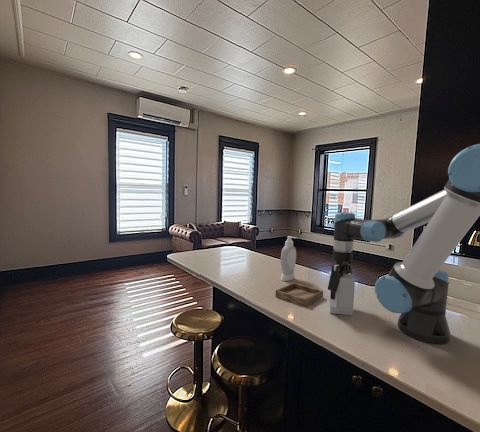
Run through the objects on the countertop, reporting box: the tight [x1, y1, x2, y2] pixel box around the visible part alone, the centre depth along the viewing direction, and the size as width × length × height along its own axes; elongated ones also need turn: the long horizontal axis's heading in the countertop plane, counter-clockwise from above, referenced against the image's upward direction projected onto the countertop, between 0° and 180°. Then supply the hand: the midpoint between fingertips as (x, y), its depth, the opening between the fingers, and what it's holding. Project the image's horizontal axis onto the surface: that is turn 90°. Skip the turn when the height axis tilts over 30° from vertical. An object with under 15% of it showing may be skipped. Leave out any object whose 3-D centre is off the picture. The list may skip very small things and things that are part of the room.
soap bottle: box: [280, 235, 298, 282], centre depth 145 cm, size 13×8×24 cm, turn 130°
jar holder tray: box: [275, 282, 324, 308], centre depth 122 cm, size 16×16×3 cm
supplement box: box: [326, 270, 356, 317], centre depth 108 cm, size 9×9×15 cm
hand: (339, 302), depth 108 cm, fingers closed on supplement box, 12 cm apart
